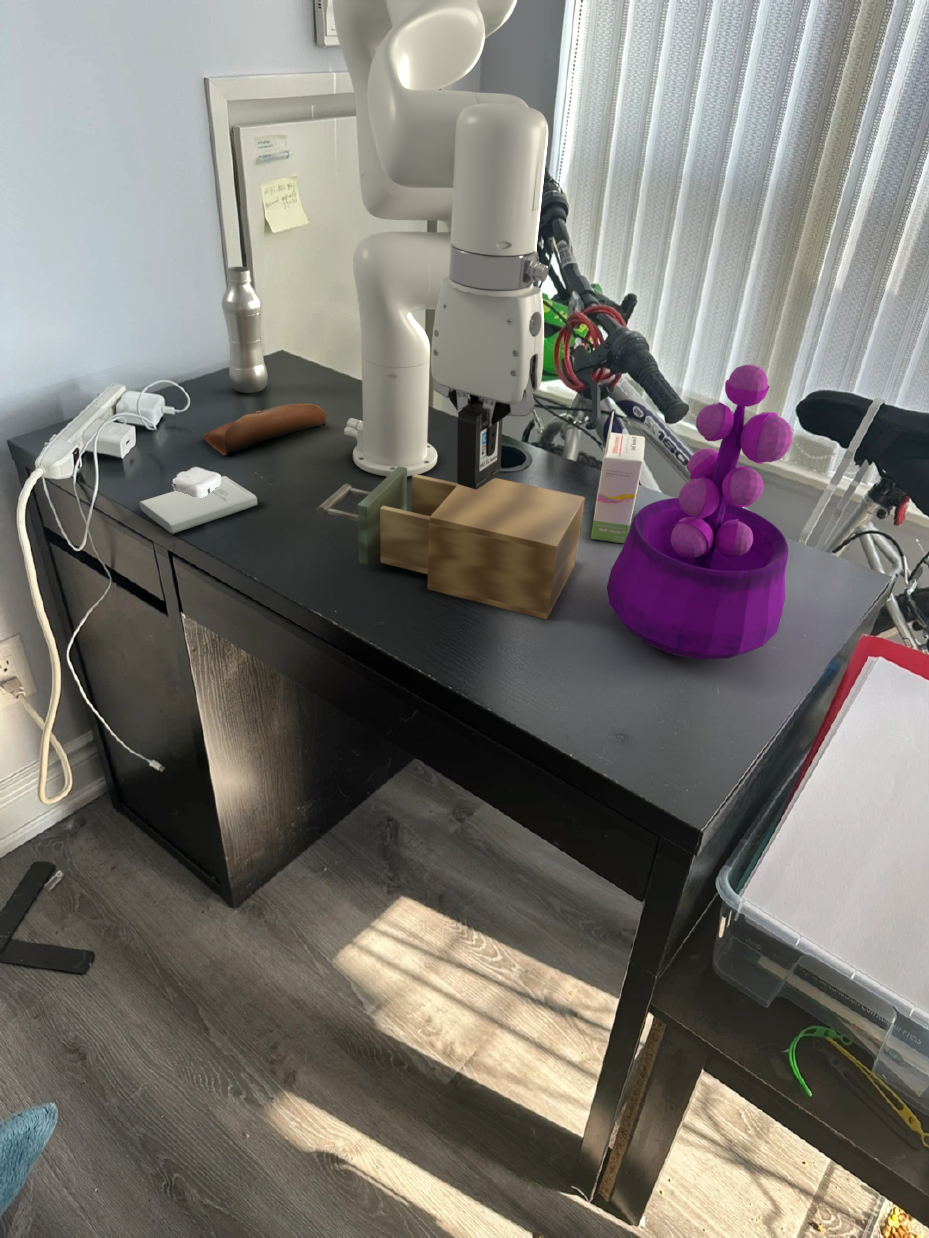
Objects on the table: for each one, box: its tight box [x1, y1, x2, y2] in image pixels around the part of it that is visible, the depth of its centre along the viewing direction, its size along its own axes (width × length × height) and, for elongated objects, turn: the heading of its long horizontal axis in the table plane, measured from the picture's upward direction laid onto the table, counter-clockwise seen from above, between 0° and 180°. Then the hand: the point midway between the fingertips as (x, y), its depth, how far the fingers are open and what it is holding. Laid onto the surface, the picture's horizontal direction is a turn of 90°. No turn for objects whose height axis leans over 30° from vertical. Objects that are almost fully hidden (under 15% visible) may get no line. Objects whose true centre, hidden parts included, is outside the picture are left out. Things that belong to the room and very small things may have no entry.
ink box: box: [590, 410, 646, 544], centre depth 108 cm, size 9×5×15 cm, turn 168°
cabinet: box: [426, 477, 586, 620], centre depth 98 cm, size 15×13×10 cm
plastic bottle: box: [221, 265, 269, 394], centre depth 140 cm, size 6×7×20 cm
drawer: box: [316, 466, 458, 575], centre depth 102 cm, size 20×11×8 cm, turn 70°
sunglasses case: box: [202, 403, 327, 456], centre depth 130 cm, size 18×7×7 cm
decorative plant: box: [606, 364, 794, 661], centre depth 86 cm, size 19×18×30 cm
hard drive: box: [139, 475, 258, 535], centre depth 110 cm, size 2×8×12 cm
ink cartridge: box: [456, 398, 504, 490], centre depth 84 cm, size 5×2×8 cm, turn 147°
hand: (477, 458), depth 85 cm, fingers closed
